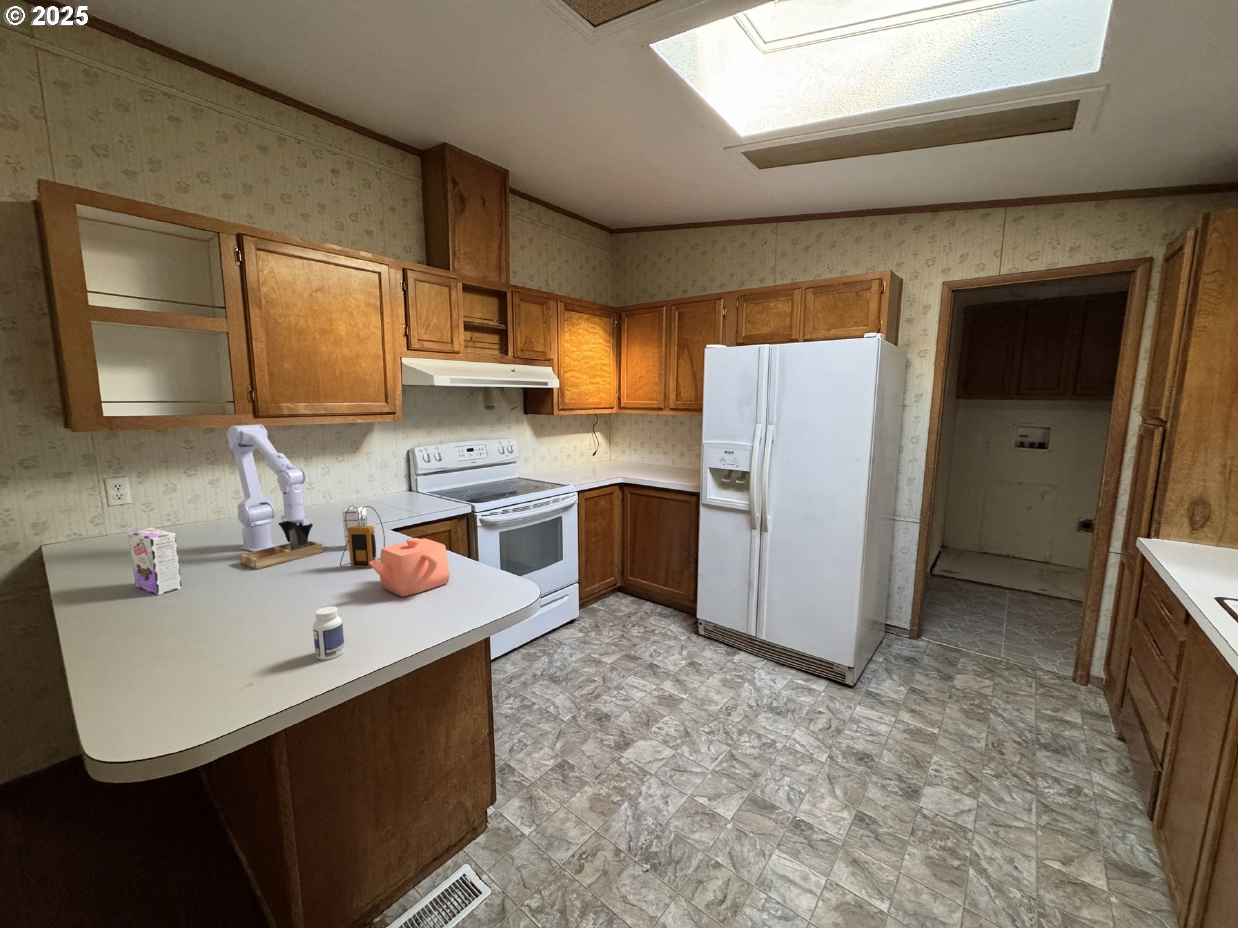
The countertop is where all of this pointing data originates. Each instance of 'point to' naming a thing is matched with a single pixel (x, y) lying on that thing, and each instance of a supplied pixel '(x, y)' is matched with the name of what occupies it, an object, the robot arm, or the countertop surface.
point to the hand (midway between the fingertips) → (297, 543)
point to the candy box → (155, 560)
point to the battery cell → (294, 540)
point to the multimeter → (361, 543)
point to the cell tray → (278, 555)
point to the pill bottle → (328, 633)
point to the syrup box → (353, 520)
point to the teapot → (412, 566)
